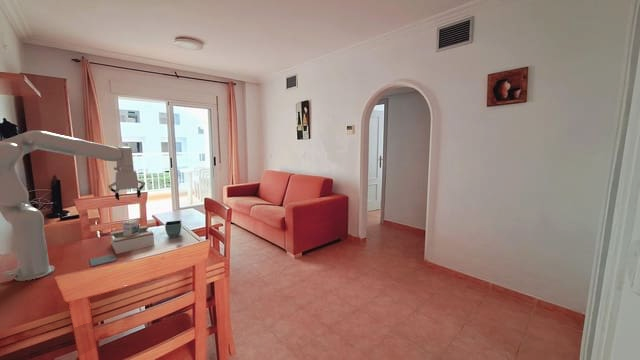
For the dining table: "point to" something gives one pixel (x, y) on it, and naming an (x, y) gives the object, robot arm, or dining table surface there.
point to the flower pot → (173, 228)
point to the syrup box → (131, 227)
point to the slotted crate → (131, 240)
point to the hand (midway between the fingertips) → (128, 198)
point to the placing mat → (103, 260)
